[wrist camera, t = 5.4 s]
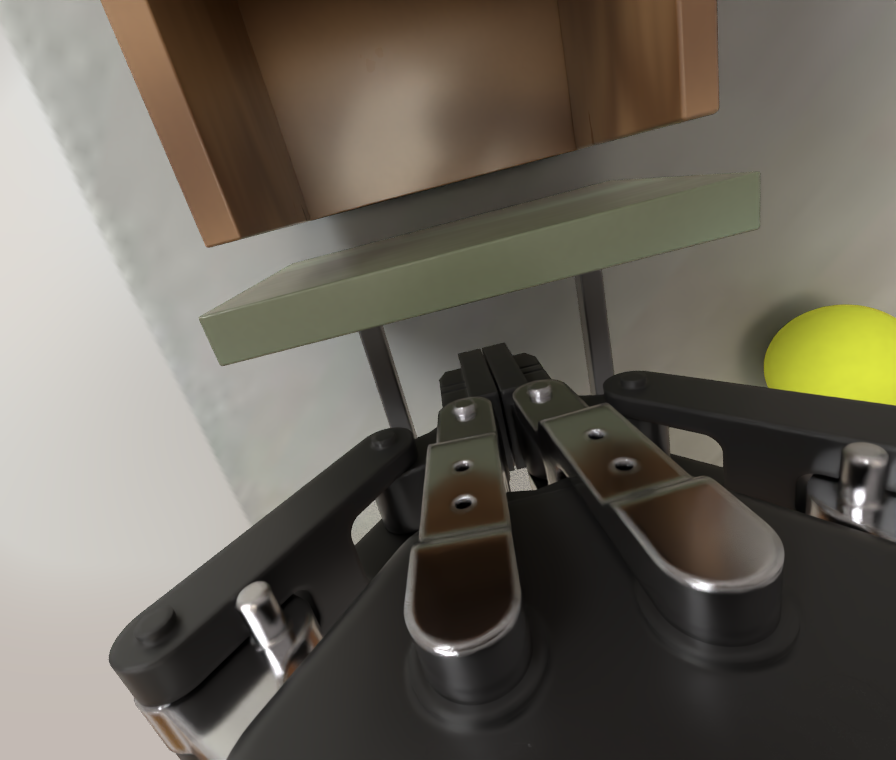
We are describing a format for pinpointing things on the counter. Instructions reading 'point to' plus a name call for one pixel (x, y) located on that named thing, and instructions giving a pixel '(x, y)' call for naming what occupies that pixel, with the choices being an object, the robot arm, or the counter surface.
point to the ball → (836, 354)
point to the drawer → (425, 149)
